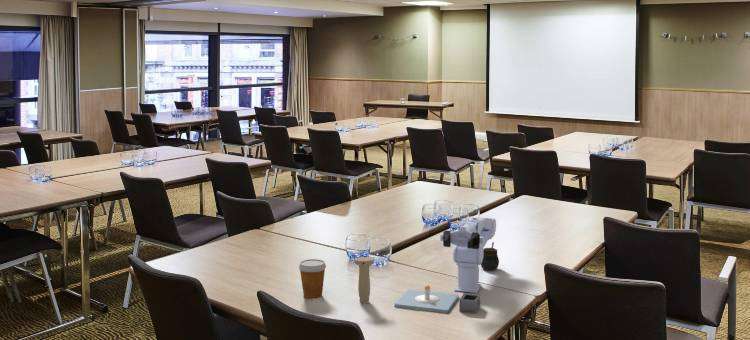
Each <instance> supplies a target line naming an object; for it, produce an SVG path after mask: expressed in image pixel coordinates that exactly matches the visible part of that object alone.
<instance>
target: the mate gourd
mask: <svg viewBox="0 0 750 340" xmlns="http://www.w3.org/2000/svg"><path fill="white" fill-rule="evenodd" d="M494 243H495V242H494V241H493V242H492V243H491V247H485V248H483V260H482V263H481V264H480V267H481V268H482V269H483V270H484V271H487V272H488V271H490V272H491V271H495V270H497V269H498V268H499V264H500V259H499V256H498V249H497V248H494Z"/></svg>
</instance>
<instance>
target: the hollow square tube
mask: <svg viewBox="0 0 750 340" xmlns="http://www.w3.org/2000/svg"><path fill="white" fill-rule="evenodd" d="M458 302H459V303H458V304H459V305H458V306H459V307H458V308H459V309H458V310H459V312H463V313H471V314H477V313H478V312H479V310H480V308H481V295H480V294H474V293H471V294H470V293H462V295H461V296H460V298H459V301H458Z"/></svg>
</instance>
